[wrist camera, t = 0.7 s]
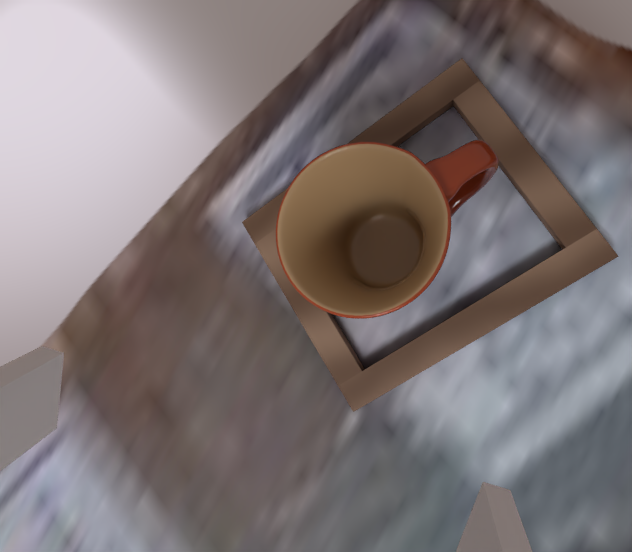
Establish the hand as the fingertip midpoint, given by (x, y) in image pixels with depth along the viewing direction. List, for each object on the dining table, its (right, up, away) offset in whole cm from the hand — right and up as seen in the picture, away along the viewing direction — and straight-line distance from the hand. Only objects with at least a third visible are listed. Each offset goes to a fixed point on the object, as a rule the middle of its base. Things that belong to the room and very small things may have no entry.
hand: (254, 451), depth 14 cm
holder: (+8, +8, +18) cm, 21 cm away
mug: (+8, +8, +18) cm, 22 cm away
